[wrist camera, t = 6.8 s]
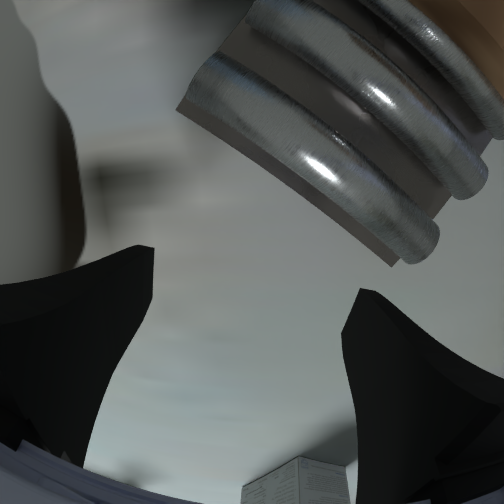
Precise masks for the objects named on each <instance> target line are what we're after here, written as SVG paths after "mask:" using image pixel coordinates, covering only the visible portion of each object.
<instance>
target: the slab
mask: <svg viewBox="0 0 504 504" xmlns="http://www.w3.org/2000/svg"><path fill="white" fill-rule="evenodd" d="M408 1H410V2H411V3H412V4H413V5H414V6H416V7H417V8H418V9H419V10H420V11H422V12H423V13H424V14H425V15H426V16H427V17H429V18H430V19H431V20H432V21H433V22H434V23H435V24H436V25H437V26H438V27H440V28H441V29H442V30H443V31H444V32H445V33H446V34H447V35H448V36H449V37H450V38H451V39H452V40H453V41H454V42H455V43H456V44H457V45H458V46H459V47H460V48H461V49H462V50H463V51H464V52H465V54H466V55H467V56H468V57H469V58H470V59H471V60H472V61H473V62H474V63H475V65H476V66H477V67H478V68H479V69H480V70H481V71H482V73H483V74H484V75H485V76H486V77H487V79H488V80H489V81H490V82H491V84H492V85H493V86H494V87H495V89H496V90H497V91H498V92H499V94H500V95H501V96H502V98H503V99H504V0H408Z"/></svg>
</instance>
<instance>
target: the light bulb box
mask: <svg viewBox="0 0 504 504" xmlns="http://www.w3.org/2000/svg"><path fill="white" fill-rule="evenodd" d="M241 504H350V497H349V490H348V482H347V476H346V469H345V467H343V466H338V465H333V464H329V463H324V462H320V461H316V460H311V459H307V458H303V457H300V456H298V457H297V458H295V459H293V460H292V461H290V462H289V463H287V464H285V465H283V466H282V467H280V468H278V469H277V470H275V471H273V472H271V473H269V474H268V475H266V476H264V477H262V478H260V479H258V480H256V481H255V482H253V483H251V484H249V485H247V486H245V487H243V488H242V493H241Z"/></svg>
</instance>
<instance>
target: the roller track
mask: <svg viewBox="0 0 504 504" xmlns="http://www.w3.org/2000/svg"><path fill="white" fill-rule="evenodd" d="M176 111H178V112H179V113H181V114H183V115H184V116H186V117H187V118H189V119H190V120H192V121H194V122H195V123H197V124H198V125H200V126H201V127H203V128H205V129H206V130H208V131H209V132H211V133H212V134H214V135H215V136H217V137H218V138H220V139H221V140H223V141H224V142H226V143H227V144H229V145H230V146H232V147H233V148H235V149H236V150H238V151H239V152H241V153H242V154H244V155H245V156H247V157H248V158H249V159H251V160H252V161H254V162H255V163H257V164H258V165H260V166H261V167H262V168H264V169H265V170H267V171H268V172H269V173H271V174H272V175H274V176H275V177H276V178H278V179H279V180H281V181H282V182H283V183H285V184H286V185H287V186H289V187H290V188H292V189H293V190H294V191H296V192H297V193H298V194H300V195H301V196H302V197H304V198H305V199H306V200H308V201H309V202H310V203H312V204H313V205H314V206H316V207H317V208H318V209H320V210H321V211H322V212H324V213H325V214H326V215H327V216H329V217H330V218H331V219H333V220H334V221H335V222H336V223H338V224H339V225H340V226H342V227H343V228H344V229H345V230H347V231H348V232H349V233H350V234H352V235H353V236H354V237H355V238H357V239H358V240H359V241H360V242H362V243H363V244H364V245H365V246H366V247H368V248H369V249H370V250H371V251H372V252H374V253H375V254H376V255H377V256H379V257H380V258H381V259H382V260H383V261H384V262H386V263H387V264H388V265H389V266H390V267H392V266H393V265H394V264H395V263H396V262H397V261H398V260H399V259H400V258H401V259H402V260H403V261H404V262H405V263H407V264H417V263H419V262H421V261H423V260H424V259H426V258H427V257H428V256H429V255H430V254H431V253H432V251H433V250H434V249H435V247H436V245H437V243H438V240H439V236H440V230H439V227H438V225H437V224H436V223H435V222H434V221H433V218H434V217H435V216H436V215H437V214H438V212H439V211H440V210H441V208H442V207H443V206H444V205H445V203H446V202H447V201H448V199H449V198H450V197H451V196H453V197H454V198H455V199H458V200H465V199H468V198H471V197H472V196H474V195H475V194H477V193H478V192H479V191H480V190H481V189H482V188H483V186H484V185H485V183H486V181H487V178H488V167H487V166H486V164H485V163H484V161H483V160H482V159H481V157H480V156H481V154H482V153H483V151H484V150H485V148H486V147H487V145H488V144H489V142H490V141H491V139H492V138H494V139H497V140H504V99H503V98H502V96H501V95H500V94H499V92H498V91H497V90H496V89H495V87H494V86H493V85H492V84H491V82H490V81H489V80H488V79H487V77H486V76H485V75H484V74H483V73H482V71H481V70H480V69H479V68H478V67H477V66H476V65H475V63H474V62H473V61H472V60H471V59H470V58H469V57H468V56H467V55H466V54H465V52H464V51H463V50H462V49H461V48H460V47H459V46H458V45H457V44H456V43H455V42H454V41H453V40H452V39H451V38H450V37H449V36H448V35H447V34H446V33H445V32H444V31H443V30H442V29H441V28H440V27H438V26H437V25H436V24H435V23H434V22H433V21H432V20H431V19H430V18H429V17H427V16H426V15H425V14H424V13H423V12H422V11H420V10H419V9H418V8H417V7H416V6H414V5H413V4H412V3H411V2H410V1H408V0H255V1H254V3H253V4H252V6H251V8H250V9H249V11H248V13H247V14H246V15H245V17H244V18H243V19H242V20H241V21H240V23H239V24H238V25H237V26H236V27H235V29H234V30H233V31H232V32H231V34H230V35H229V36H228V37H227V39H226V40H225V41H224V42H223V44H222V45H221V46H220V48H219V49H218V50H217V51H216V53H215V54H213V55H212V56H211V57H210V58H209V59H208V60H207V61H206V62H205V63H204V64H203V65H202V66H201V68H200V69H199V70H198V72H197V73H196V75H195V76H194V78H193V79H192V81H191V83H190V85H189V87H188V90H187V93H186V95H185V96H184V98H183V99H182V101H181V102H180V104H179V105H178V107H177V108H176Z"/></svg>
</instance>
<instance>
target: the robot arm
mask: <svg viewBox="0 0 504 504" xmlns="http://www.w3.org/2000/svg"><path fill="white" fill-rule="evenodd" d="M153 267H154V248H152V247H147V246H143V245H135V246H131V247H129V248H126V249H123V250H121V251H118V252H116V253H114V254H111V255H109V256H106V257H104V258H101V259H99V260H97V261H94V262H91V263H88V264H86V265H83V266H80V267H78V268H75V269H72V270H69V271H66V272H63V273H60V274H56V275H52V276H48V277H45V278H40V279H34V280H29V281H24V282H19V283H12V284H3V285H0V504H202V503H197V502H192V501H187V500H182V499H178V498H173V497H169V496H165V495H161V494H157V493H153V492H150V491H146V490H143V489H139V488H136V487H133V486H129V485H126V484H123V483H120V482H117V481H114V480H112V479H109V478H106V477H103V476H101V475H98V474H95V473H93V472H90V471H88V470H85V469H83V465H84V461H85V456H86V452H87V448H88V444H89V440H90V437H91V433H92V430H93V427H94V423H95V420H96V417H97V414H98V411H99V408H100V405H101V403H102V400H103V397H104V394H105V392H106V389H107V387H108V384H109V382H110V379H111V377H112V374H113V372H114V370H115V368H116V366H117V365H118V363H119V361H120V359H121V358H122V356H123V354H124V352H125V351H126V349H127V347H128V345H129V344H130V342H131V340H132V339H133V337H134V335H135V333H136V332H137V330H138V328H139V327H140V325H141V323H142V321H143V319H144V317H145V315H146V312H147V310H148V308H149V305H150V303H151V300H152V295H153ZM341 338H342V351H343V359H344V363H345V368H346V372H347V376H348V381H349V385H350V389H351V394H352V398H353V403H354V407H355V414H356V422H357V436H358V482H357V495H356V504H504V379H503V378H501V377H498V376H496V375H494V374H492V373H489V372H487V371H485V370H483V369H481V368H479V367H478V366H476V365H474V364H472V363H470V362H469V361H467V360H465V359H463V358H462V357H460V356H459V355H457V354H455V353H454V352H452V351H451V350H450V349H448V348H447V347H445V346H444V345H442V344H441V343H439V342H438V341H437V340H435V339H434V338H433V337H432V336H430V335H429V334H428V333H427V332H425V331H424V330H423V329H422V328H420V327H419V326H418V325H417V324H416V323H414V322H413V321H412V320H411V319H410V318H409V317H407V316H406V315H405V314H404V313H403V312H402V311H401V310H399V309H398V308H397V307H396V306H395V305H394V304H392V303H391V302H390V301H389V300H388V299H386V298H385V297H384V296H382V295H381V294H380V293H378V292H376V291H373V290H368V289H362V288H360V289H359V292H358V294H357V297H356V299H355V302H354V304H353V307H352V309H351V312H350V314H349V316H348V319H347V321H346V323H345V326H344V328H343V330H342V333H341Z"/></svg>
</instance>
